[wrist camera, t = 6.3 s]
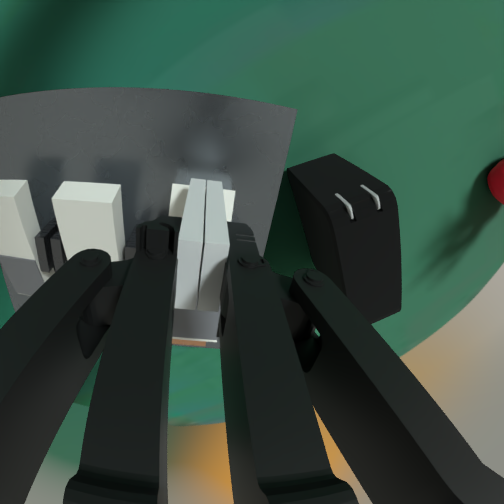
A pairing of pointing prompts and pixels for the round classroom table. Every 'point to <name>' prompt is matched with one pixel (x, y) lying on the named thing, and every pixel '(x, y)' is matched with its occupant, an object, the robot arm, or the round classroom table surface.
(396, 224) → the electronic device
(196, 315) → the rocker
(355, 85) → the round classroom table surface
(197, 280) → the robot arm
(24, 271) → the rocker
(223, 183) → the console
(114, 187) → the rocker mid
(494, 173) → the heart organ
